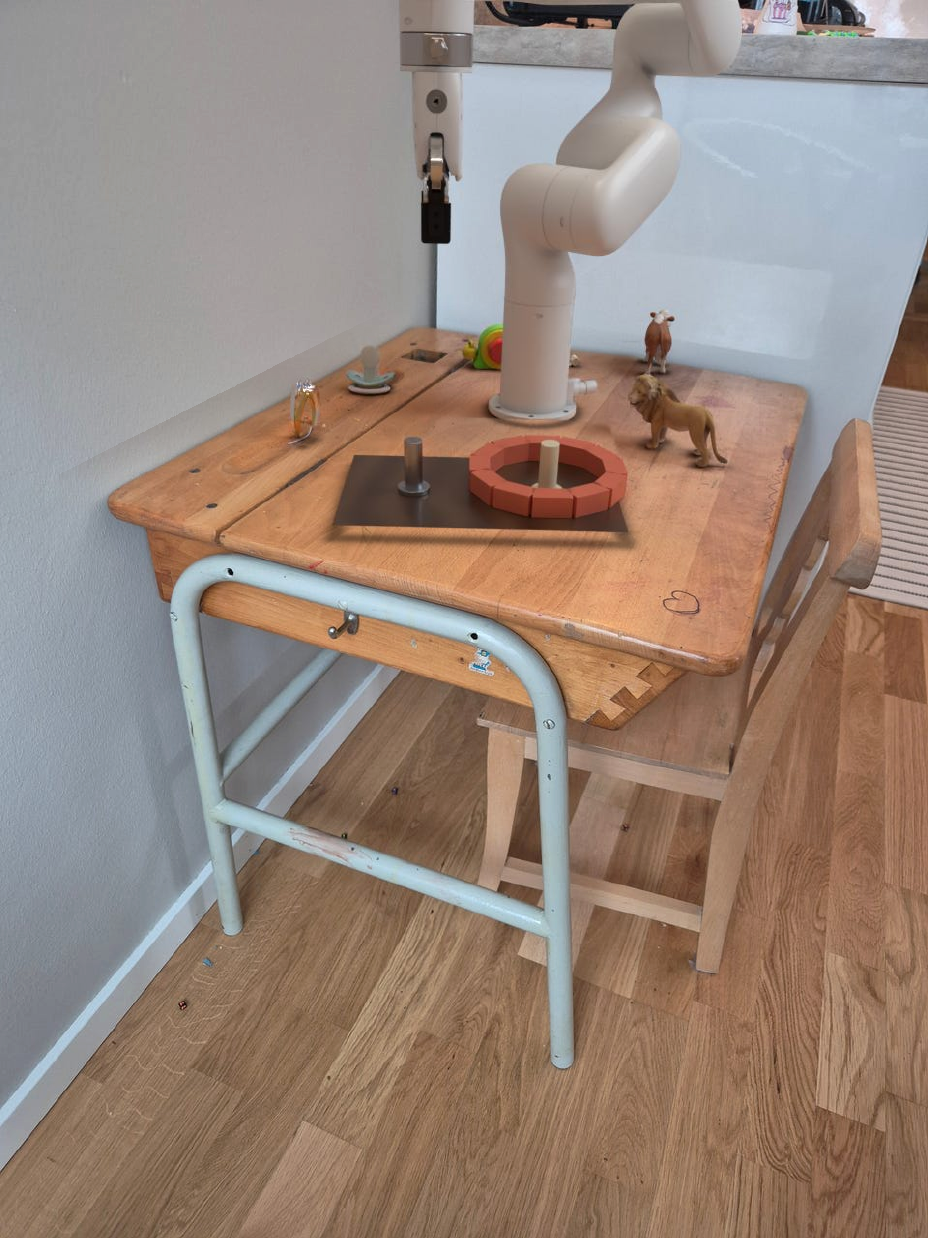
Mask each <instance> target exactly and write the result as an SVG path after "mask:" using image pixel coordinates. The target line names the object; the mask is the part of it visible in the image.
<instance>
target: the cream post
mask: <svg viewBox="0 0 928 1238" xmlns="http://www.w3.org/2000/svg"><path fill="white" fill-rule="evenodd" d="M559 445H560V444H559V442H557V441H554V440H545V441H542V443H541V453H540V467H539V481H538V483H536V484H534V485H532V487H533V488H559V489H562V487H561V486H559V485H557V484H556V480H557V468H558V456H559Z"/></svg>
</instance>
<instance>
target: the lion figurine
mask: <svg viewBox="0 0 928 1238" xmlns="http://www.w3.org/2000/svg"><path fill="white" fill-rule="evenodd" d="M674 391H675V390H673V389H672V388H671V387H670V386H668V385H667V384H666V383H665V382H664V381H663V380H661V379H659V378H658V377H657V376H653V375H652V374H650V375H649V374H645V373H643V374H641V375H637V376H635V377H634V383H633V385H632V390H631V392H630V393H628V394H627V400H628V401H629V406H630V407H631V408H634V409H635V410H636V411H637V412H638V413H639V414H640V415H641V416H642V420H643V421H645V422H646V423H649V424H650V435H651V439H652V440H651V441H649V442H647V443H646V448H647V449H648V450H649V449H652V450H653V449H656V448H657V447H658V446H659V444H660V443H664V442H665V440H666V437H667V432H668V429H670V430H673V431H675V432H679V433H683V432H688V434H689V437H690V440H691V442H692V444H693V445H694V447H695V449H694V450H693V454H694V455H696V456H701V459H698V460H697V461H696V466H697V467H699V468H704V467H707V466H708V464H709V461H710V456H709V455H710V454H709V453H710V452H709V449H708V443H707V442H708V438H709V435H710V442H711V448H712V451H713V454H714V456H715V458H716V460H717V461H718V462H719V463H720V464H728V460H727V459H726V458H725V457H723V456H722V455H720V452H718V448H717V440H716V439H717V438H716V428H715V422H714V417H713V414H712V413H711V411H710V410H709V409H707V408H706V407H705V406H700V405H691V404H687V403H685V402H682V401H680V399H679V398H678V397H677V395H676V393H675V392H674Z"/></svg>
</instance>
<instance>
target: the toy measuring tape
mask: <svg viewBox="0 0 928 1238" xmlns="http://www.w3.org/2000/svg"><path fill="white" fill-rule="evenodd" d="M502 336H503V323H495V324H492V325H490V326H488V327H486V329H484V330H483V331H482V333H481V334H480V335H479V338H478V341H477V342H478V343H477V347H476V346H475V343H474V341H473V339H469V340H468V341H467V344H466V345H464V346H463V347H462V350H461V354H462V356H463V358H464V359H466V360H469V361H471V360H472V364H473V365H472V366H473V367H474V369H475V370H485V369H486V370H492V369H493V370H501V359H502ZM579 363H580V359H579V357H578V356H577V355H576V354H570V361H569V367H571V366H573V367H576V366H578V365H579Z"/></svg>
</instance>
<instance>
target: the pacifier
mask: <svg viewBox="0 0 928 1238" xmlns="http://www.w3.org/2000/svg"><path fill="white" fill-rule="evenodd" d="M380 359H381V355H380V352H379V350H378V348H376V346H374V345H366V346H364V347H363V348H362V349H361V350H360V353H359V360H360V363H361V365H362V367H363V368H362V370H363V373H361V372H358V371H355V370H351V369H348V370H346V371H345V372H346V377H347V379H348V380H350V381H351V382H353V383H351V384H348V386H347V389H348V390H349V391H351V392H353V393H358V394H364V395H365V394H366V395H375V394H384V393H387V392H389V391H390V390H391V387H390V386H389V385H387V384H386V382H389V381H390V380H391V379H392V378H393V377H394V376H395V374H396V373H395V371H391V372H388V373H384V374H381V375H378V373H379V371H378V365H379V364H380V361H381V360H380Z"/></svg>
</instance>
